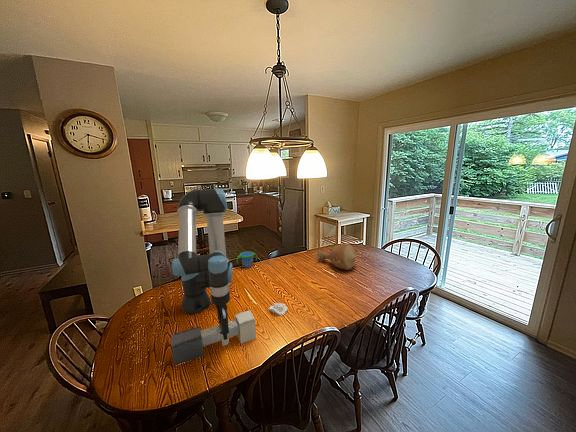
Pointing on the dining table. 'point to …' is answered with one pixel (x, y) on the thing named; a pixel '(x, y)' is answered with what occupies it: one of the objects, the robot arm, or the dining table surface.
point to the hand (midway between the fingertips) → (224, 340)
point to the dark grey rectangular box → (187, 345)
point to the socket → (246, 326)
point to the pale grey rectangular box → (214, 334)
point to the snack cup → (246, 258)
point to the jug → (339, 256)
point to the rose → (278, 308)
